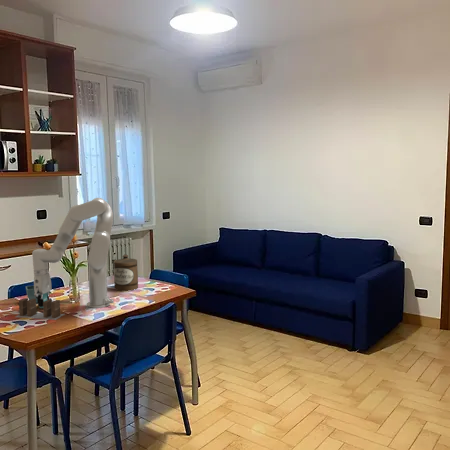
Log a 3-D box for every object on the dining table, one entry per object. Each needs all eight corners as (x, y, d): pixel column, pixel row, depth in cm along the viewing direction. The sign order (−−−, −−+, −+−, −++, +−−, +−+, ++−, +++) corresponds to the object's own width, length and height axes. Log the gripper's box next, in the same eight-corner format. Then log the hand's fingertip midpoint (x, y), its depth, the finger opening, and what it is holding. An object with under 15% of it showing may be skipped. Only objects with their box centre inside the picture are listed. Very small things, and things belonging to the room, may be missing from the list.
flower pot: (27, 305, 260) (26, 289, 259) (26, 301, 267) (25, 286, 266) (44, 303, 264) (43, 287, 263) (42, 299, 271) (41, 284, 270)
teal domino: (48, 305, 255) (47, 291, 254) (43, 308, 250) (42, 293, 249) (44, 305, 256) (43, 291, 255) (39, 308, 251) (38, 293, 250)
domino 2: (36, 313, 243) (35, 298, 242) (31, 316, 238) (30, 301, 237) (33, 313, 244) (32, 298, 243) (27, 316, 239) (26, 301, 238)
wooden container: (110, 290, 293) (109, 256, 290) (120, 284, 307) (120, 252, 304) (132, 291, 289) (131, 257, 287) (141, 286, 304) (141, 253, 301)
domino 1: (28, 313, 244) (28, 298, 243) (23, 316, 239) (22, 301, 238) (25, 313, 244) (24, 298, 243) (19, 315, 239) (18, 300, 238)
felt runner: (65, 314, 243) (65, 314, 243) (56, 320, 234) (56, 319, 234) (24, 312, 246) (24, 311, 246) (14, 317, 238) (14, 317, 238)
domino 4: (60, 315, 241) (59, 300, 240) (55, 318, 236) (54, 302, 235) (56, 315, 241) (56, 300, 240) (51, 317, 236) (51, 302, 235)
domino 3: (52, 314, 242) (51, 299, 241) (47, 317, 237) (46, 302, 236) (48, 314, 242) (48, 299, 241) (43, 317, 237) (42, 302, 236)
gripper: (38, 275, 242) (41, 309, 244) (55, 268, 258) (58, 300, 261) (25, 275, 243) (28, 309, 245) (43, 268, 260) (46, 300, 262)
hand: (43, 304), depth 253 cm, fingers closed on teal domino, 4 cm apart
